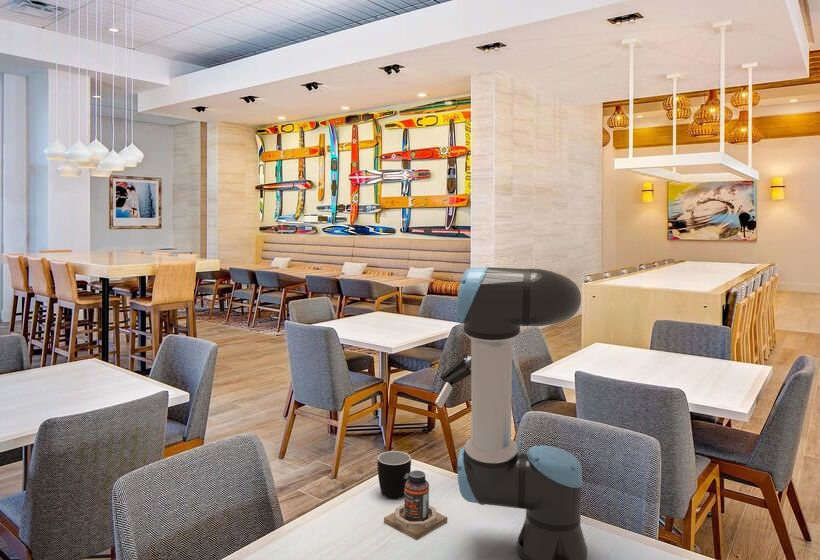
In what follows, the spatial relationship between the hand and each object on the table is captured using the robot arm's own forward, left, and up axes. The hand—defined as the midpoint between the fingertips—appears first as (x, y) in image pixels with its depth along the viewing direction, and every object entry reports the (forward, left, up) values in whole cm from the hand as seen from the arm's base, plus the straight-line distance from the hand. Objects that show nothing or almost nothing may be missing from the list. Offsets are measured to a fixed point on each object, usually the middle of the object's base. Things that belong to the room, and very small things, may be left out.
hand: (458, 411), depth 152 cm
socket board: (0, +16, -24) cm, 29 cm away
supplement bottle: (0, +16, -23) cm, 28 cm away
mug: (+15, +8, -24) cm, 30 cm away
